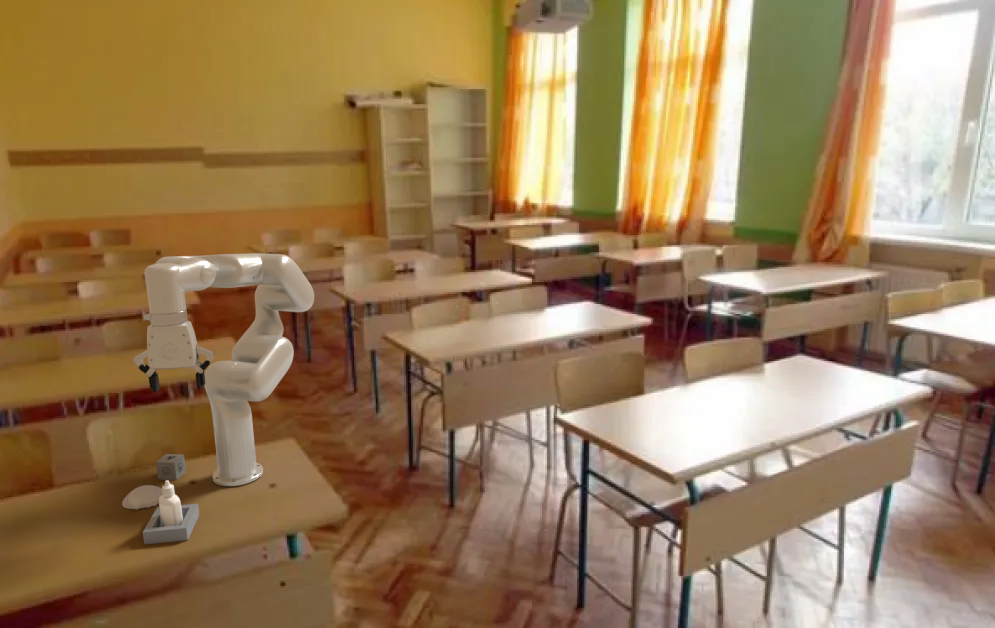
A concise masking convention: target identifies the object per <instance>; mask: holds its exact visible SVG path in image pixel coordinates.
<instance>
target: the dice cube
mask: <svg viewBox="0 0 995 628" xmlns="http://www.w3.org/2000/svg"><path fill="white" fill-rule="evenodd" d="M155 467H156V473H157V479H164V480H163V481H166V480H169V481H177V480H178V479H179V478H180V477H182V476H183V475H184V474H185V473H186V472H187V469H186V461H185V454H183V453H182V454H180V453H179V454H178V453H176V454H175V453H165V454H164V455H163V456H162V457H160V458H159V459H158V460H157V461H156V462H155Z"/></svg>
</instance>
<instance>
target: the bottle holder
mask: <svg viewBox="0 0 995 628" xmlns="http://www.w3.org/2000/svg"><path fill="white" fill-rule="evenodd" d="M181 508H182V516H183V522H182V524H181V525H177V526H167V527H162V522H161V515H160V507H159V506H157V508H156V509H155V510H154V512H153V514H152V516H151V517H150V519H149V521H148V522H147V524H146V526H145V527H144V529H143V531H142V538H143V544H144V545H151V544H153V545H154V544H162V543H172V542H173V543H174V542H183V541H184V542H185V541H189V539H190V537H191V535H192V532H193V530H194V528H195V526H196V523H197V521H198V519H199V516H200V510H199V503H191V504H189V503H188V504H181Z"/></svg>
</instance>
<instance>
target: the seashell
mask: <svg viewBox="0 0 995 628" xmlns="http://www.w3.org/2000/svg"><path fill="white" fill-rule="evenodd" d="M162 495H163V493H162V487H160V486H156V485H153V484H151V485H150V484H148V485H147V484H146V485H140V486H137V487H136V488H134V489H133V490H131V491H130V492H129V493H128V494H126V496H124V497H123V500H122V502H121V503H122V504H121V505H122V507H123V508H126V509H129V510H130V509H131V510H139V509H144V508H151V507H155V506H158V505H159V498H160V497H161V496H162Z"/></svg>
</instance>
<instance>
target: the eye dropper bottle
mask: <svg viewBox="0 0 995 628" xmlns="http://www.w3.org/2000/svg"><path fill="white" fill-rule="evenodd" d="M161 488H162V493H163V495H162V496H161V497H160V498H159V504H158V505H159V506H158V507H160V515H161V522H162V526H161V527H167V526H177V525H181V524H182V522H183V516H182V508H181V505H182V503H181V499H180V497H179V496H178V495H177V494H176V493H175V486H174V484H172V483H170V480H164V485H162V487H161Z"/></svg>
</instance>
